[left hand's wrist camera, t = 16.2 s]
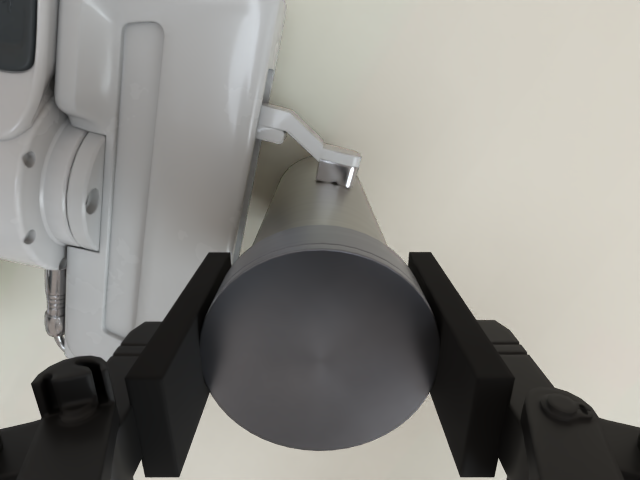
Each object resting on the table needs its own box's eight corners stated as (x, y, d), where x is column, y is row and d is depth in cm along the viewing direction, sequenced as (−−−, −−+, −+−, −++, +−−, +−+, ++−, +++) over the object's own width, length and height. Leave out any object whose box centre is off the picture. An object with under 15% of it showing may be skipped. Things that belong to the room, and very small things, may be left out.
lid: (171, 303, 12) (146, 339, 10) (344, 179, 11) (349, 196, 9) (300, 434, 14) (297, 483, 12) (462, 341, 13) (485, 381, 11)
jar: (350, 144, 25) (395, 227, 10) (372, 227, 26) (437, 398, 12) (264, 170, 25) (187, 284, 11) (291, 249, 27) (259, 439, 12)
